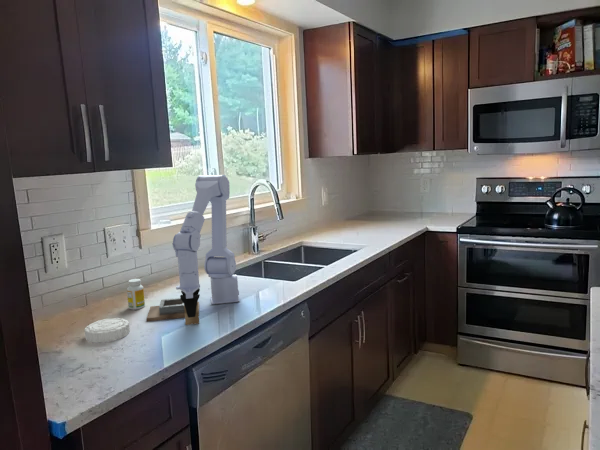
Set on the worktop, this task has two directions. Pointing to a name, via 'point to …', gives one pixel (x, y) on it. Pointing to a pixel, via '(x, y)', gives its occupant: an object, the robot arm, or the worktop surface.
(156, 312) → the socket board
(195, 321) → the peg
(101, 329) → the mooncake
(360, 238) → the worktop surface
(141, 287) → the supplement bottle
